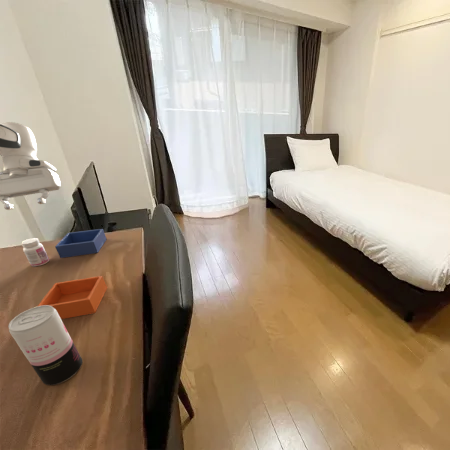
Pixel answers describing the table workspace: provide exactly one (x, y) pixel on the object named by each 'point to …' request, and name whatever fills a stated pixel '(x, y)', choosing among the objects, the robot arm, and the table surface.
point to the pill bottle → (35, 252)
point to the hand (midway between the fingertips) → (25, 206)
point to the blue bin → (81, 243)
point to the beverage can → (46, 344)
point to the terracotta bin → (76, 296)
